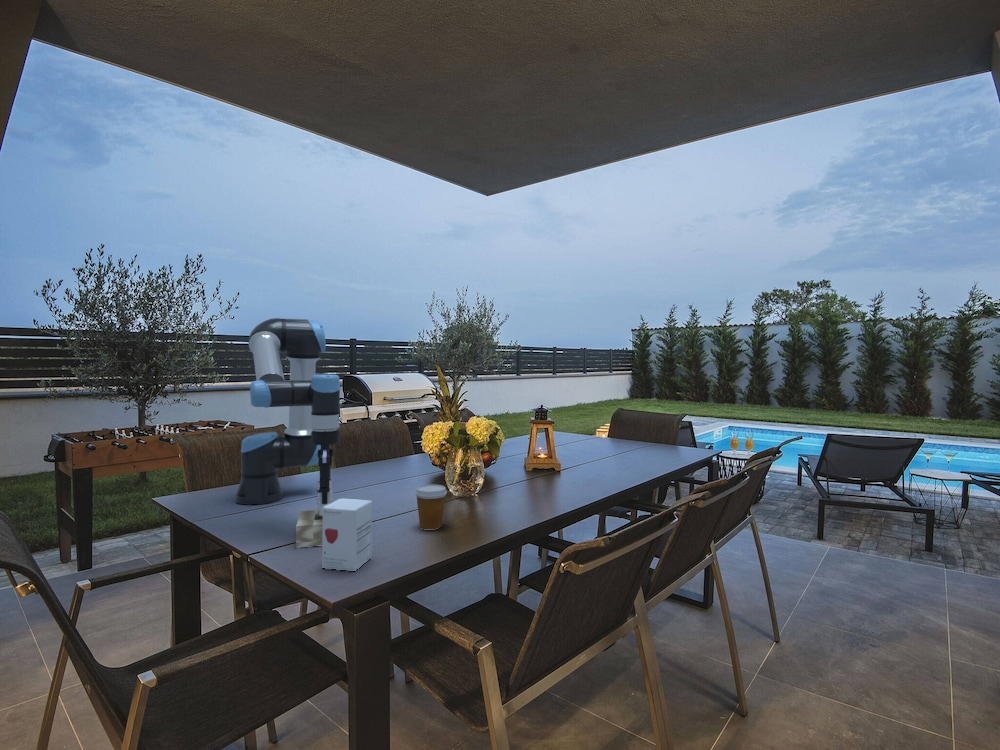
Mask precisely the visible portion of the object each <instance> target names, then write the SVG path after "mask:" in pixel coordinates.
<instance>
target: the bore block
mask: <svg viewBox="0 0 1000 750" xmlns="http://www.w3.org/2000/svg"><path fill="white" fill-rule="evenodd" d="M322 522H323V519H320V520H318V509H311V510H310V509H309V510H301V511H300V512H299V515H298V519H297V523H296V525H295V548H296V547H304V546H316V545H322Z"/></svg>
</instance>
